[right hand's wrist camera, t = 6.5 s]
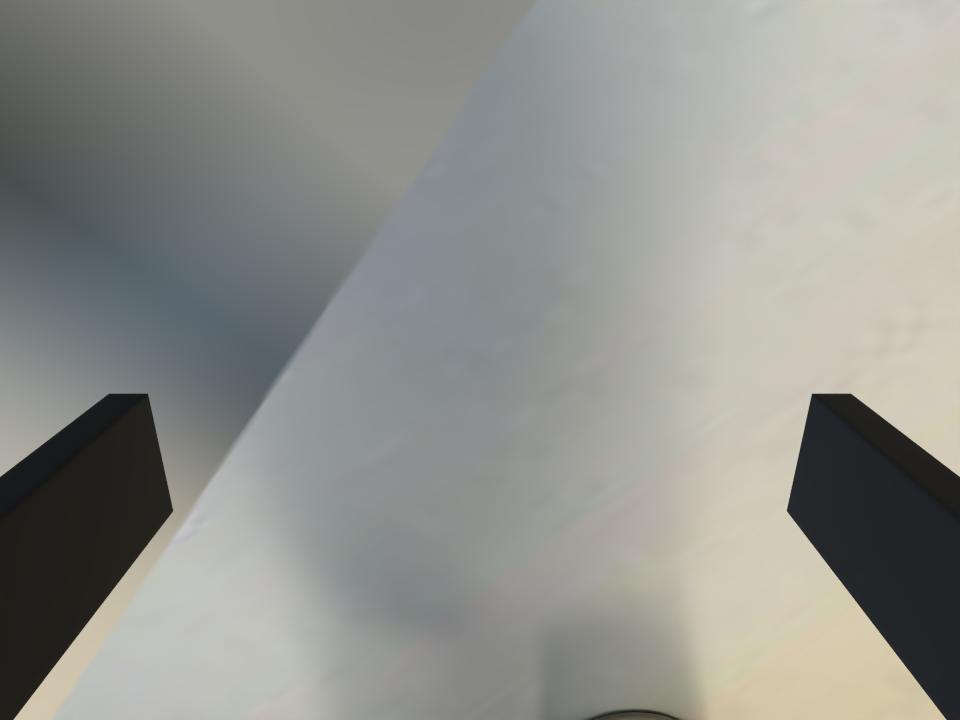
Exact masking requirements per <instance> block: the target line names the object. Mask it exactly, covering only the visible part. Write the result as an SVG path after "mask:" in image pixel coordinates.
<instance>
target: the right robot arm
mask: <svg viewBox="0 0 960 720" xmlns="http://www.w3.org/2000/svg"><path fill="white" fill-rule="evenodd" d="M172 512H173V508H172V503H171V499H170V494H169V489H168V485H167V480H166V475H165V471H164V466H163V462H162V457H161V452H160V448H159V443H158V438H157V434H156V429H155V425H154V420H153V415H152V411H151V406H150V401H149V397H148V394H108V395H107V396H106V397H104V398H103V399H102V400H100V401H99V402H98V403H96V404H95V405H94V406H92V407H91V408H90V409H89V410H87V411H86V412H85V413H83V414H82V415H81V416H79V417H78V418H77V419H75V420H74V421H73V422H72V423H70V424H69V425H68V426H66V427H65V428H64V429H62V430H61V431H60V432H59V433H57V434H56V435H55V436H53V437H52V438H51V439H49V440H48V441H47V442H45V443H44V444H43V445H41V446H40V447H39V448H38V449H36V450H35V451H34V452H32V453H31V454H30V455H28V456H27V457H26V458H24V459H23V460H22V461H21V462H19V463H18V464H17V465H15V466H14V467H13V468H11V469H10V470H9V471H8V472H6V473H5V474H4V475H2V476H1V477H0V720H14V718H15V717H16V716H17V714H18V713H19V712H20V710H21V709H22V708H23V706H24V705H25V704H26V703H27V701H28V700H29V699H30V697H31V696H32V695H33V693H34V692H35V691H36V689H37V688H38V687H39V686H40V684H41V683H42V682H43V680H44V679H45V678H46V676H47V675H48V674H49V672H50V671H51V670H52V669H53V667H54V666H55V665H56V663H57V662H58V661H59V659H60V658H61V657H62V655H63V654H64V653H65V651H66V650H67V649H68V648H69V646H70V645H71V644H72V642H73V641H74V640H75V638H76V637H77V636H78V635H79V633H80V632H81V631H82V629H83V628H84V627H85V625H86V624H87V623H88V621H89V620H90V619H91V618H92V616H93V615H94V614H95V612H96V611H97V610H98V608H99V607H100V606H101V604H102V603H103V602H104V601H105V599H106V598H107V597H108V595H109V594H110V593H111V591H112V590H113V589H114V588H115V586H116V585H117V584H118V582H119V581H120V580H121V578H122V577H123V576H124V574H125V573H126V572H127V571H128V569H129V568H130V567H131V565H132V564H133V563H134V561H135V560H136V559H137V558H138V556H139V555H140V554H141V552H142V551H143V550H144V548H145V547H146V546H147V544H148V543H149V542H150V541H151V539H152V538H153V537H154V535H155V534H156V533H157V531H158V530H159V529H160V527H161V526H162V525H163V523H164V522H165V521H166V520H167V518H168V517H169V516H170V514H171V513H172ZM787 512H788V513H789V514H790V516H791V517H792V518H793V520H794V521H795V522H796V524H797V525H798V526H799V527H800V529H801V530H802V531H803V533H804V534H805V535H806V537H807V538H808V539H809V541H810V542H811V543H812V544H813V546H814V547H815V548H816V550H817V551H818V552H819V554H820V555H821V556H822V558H823V559H824V560H825V561H826V563H827V564H828V565H829V567H830V568H831V569H832V571H833V572H834V573H835V575H836V576H837V577H838V578H839V580H840V581H841V582H842V584H843V585H844V586H845V588H846V589H847V590H848V591H849V593H850V594H851V595H852V597H853V598H854V599H855V601H856V602H857V603H858V605H859V606H860V607H861V608H862V610H863V611H864V612H865V614H866V615H867V616H868V618H869V619H870V620H871V622H872V623H873V624H874V625H875V627H876V628H877V629H878V631H879V632H880V633H881V635H882V636H883V637H884V639H885V640H886V641H887V642H888V644H889V645H890V646H891V648H892V649H893V650H894V652H895V653H896V654H897V656H898V657H899V658H900V659H901V661H902V662H903V663H904V665H905V666H906V667H907V669H908V670H909V671H910V672H911V674H912V675H913V676H914V678H915V679H916V680H917V682H918V683H919V684H920V686H921V687H922V688H923V689H924V691H925V692H926V693H927V695H928V696H929V697H930V699H931V700H932V701H933V703H934V704H935V705H936V706H937V708H938V709H939V710H940V712H941V713H942V714H943V716H944V717H945V718H946V720H960V477H959V476H958V475H956V474H955V473H954V472H952V471H951V470H950V469H949V468H947V467H946V466H945V465H943V464H942V463H941V462H939V461H938V460H937V459H936V458H934V457H933V456H932V455H930V454H929V453H928V452H926V451H925V450H924V449H922V448H921V447H920V446H919V445H917V444H916V443H915V442H913V441H912V440H911V439H909V438H908V437H907V436H905V435H904V434H903V433H902V432H900V431H899V430H898V429H896V428H895V427H894V426H892V425H891V424H890V423H888V422H887V421H886V420H885V419H883V418H882V417H881V416H879V415H878V414H877V413H875V412H874V411H873V410H871V409H870V408H869V407H868V406H866V405H865V404H864V403H862V402H861V401H860V400H858V399H857V398H856V397H854V396H853V395H852V394H812V397H811V401H810V406H809V411H808V415H807V420H806V424H805V429H804V434H803V438H802V443H801V448H800V452H799V457H798V462H797V466H796V471H795V475H794V480H793V485H792V489H791V494H790V499H789V503H788V508H787ZM594 720H675V719H672V718H669V717H666V716H662V715H658V714H652V713H641V712H630V713H618V714H612V715H607V716H604V717H600V718H597V719H594Z"/></svg>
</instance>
